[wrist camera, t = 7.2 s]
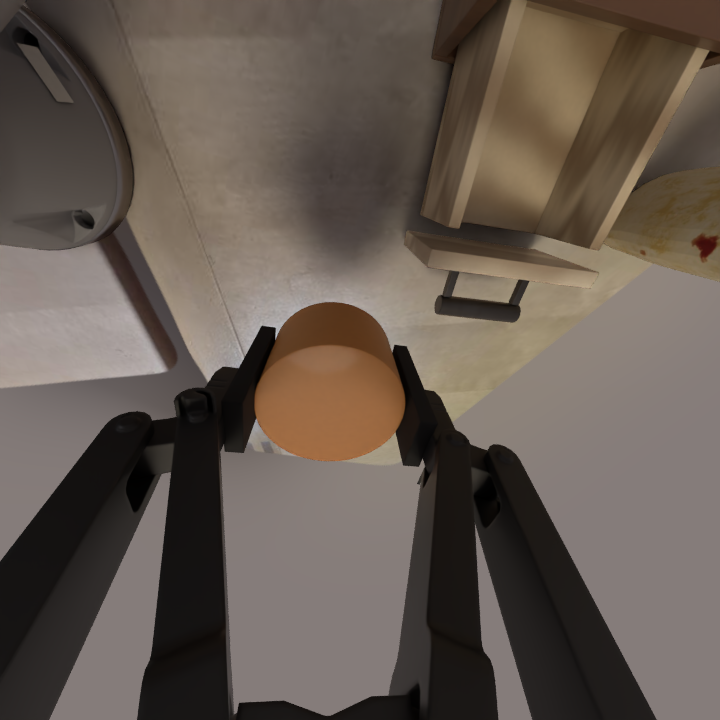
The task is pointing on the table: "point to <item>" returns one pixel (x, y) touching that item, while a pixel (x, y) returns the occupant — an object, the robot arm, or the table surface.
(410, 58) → the table surface
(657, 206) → the food model
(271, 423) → the orange cylinder puck
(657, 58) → the drawer
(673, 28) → the cabinet
